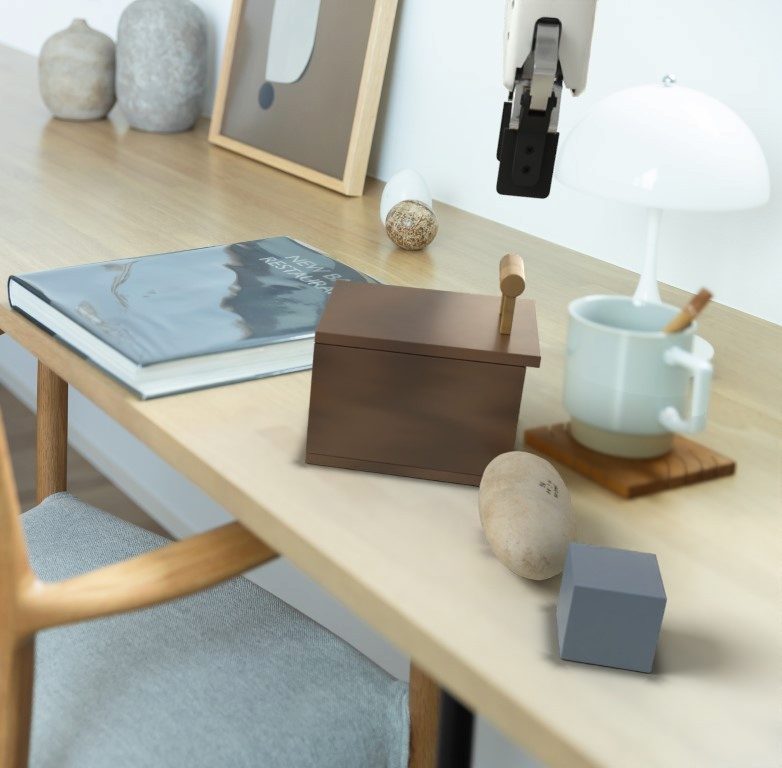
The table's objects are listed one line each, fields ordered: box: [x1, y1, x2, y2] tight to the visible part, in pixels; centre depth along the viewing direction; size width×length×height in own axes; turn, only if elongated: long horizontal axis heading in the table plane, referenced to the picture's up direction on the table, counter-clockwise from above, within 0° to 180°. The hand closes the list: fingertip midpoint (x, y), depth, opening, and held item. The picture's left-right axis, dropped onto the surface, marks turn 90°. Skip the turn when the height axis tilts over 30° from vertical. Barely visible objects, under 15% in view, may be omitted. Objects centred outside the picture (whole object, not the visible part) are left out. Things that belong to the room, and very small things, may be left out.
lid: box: [313, 253, 542, 369], centre depth 80 cm, size 14×12×5 cm
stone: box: [478, 450, 577, 581], centre depth 70 cm, size 6×6×12 cm
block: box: [555, 542, 668, 674], centre depth 61 cm, size 4×4×4 cm
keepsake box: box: [304, 342, 527, 487], centre depth 82 cm, size 14×12×9 cm
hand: (520, 178), depth 76 cm, fingers open, 9 cm apart
